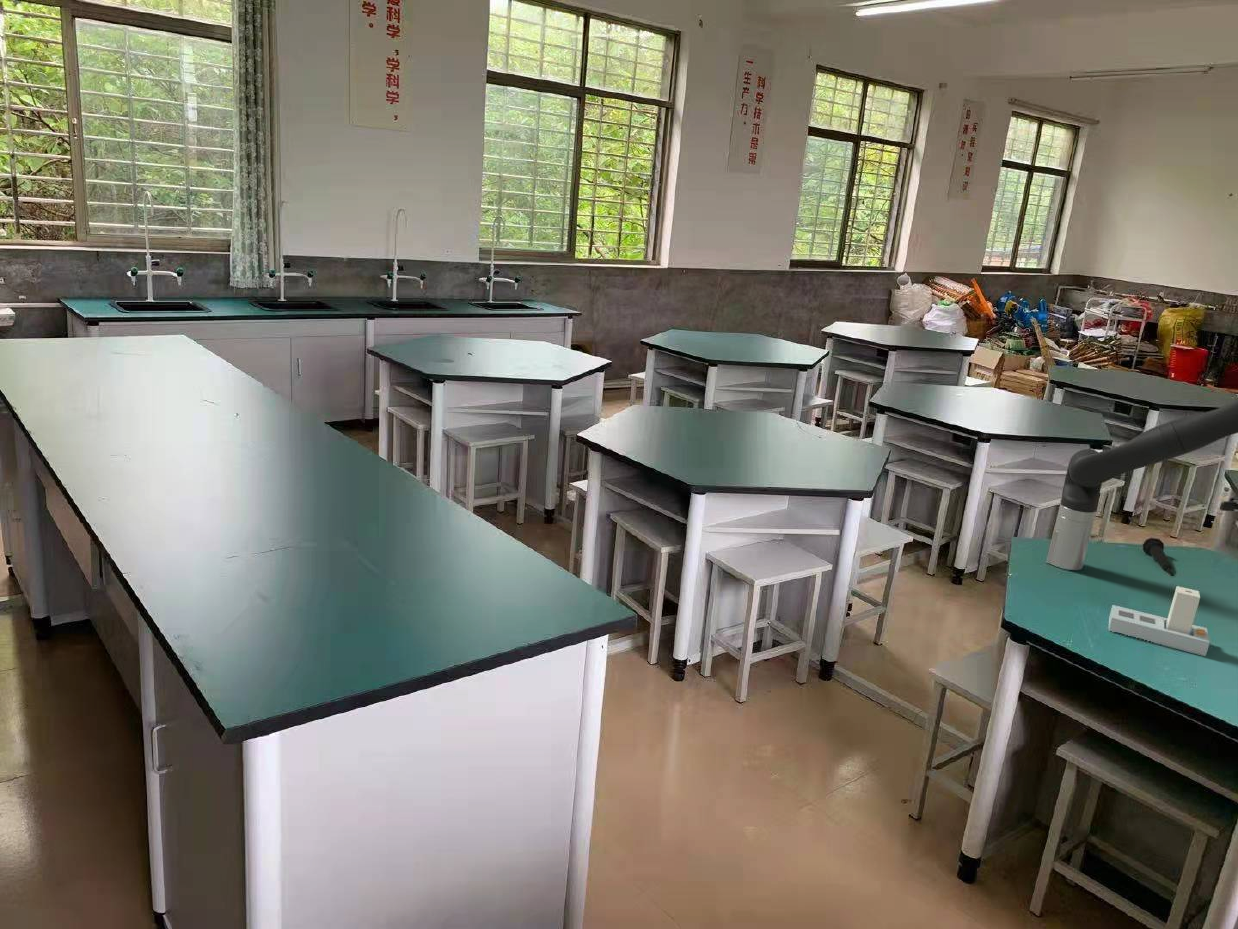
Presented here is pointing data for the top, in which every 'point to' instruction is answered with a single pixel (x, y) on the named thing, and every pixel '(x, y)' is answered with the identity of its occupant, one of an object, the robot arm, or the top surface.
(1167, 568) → the microphone
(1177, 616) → the block
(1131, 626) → the power strip
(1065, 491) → the robot arm
